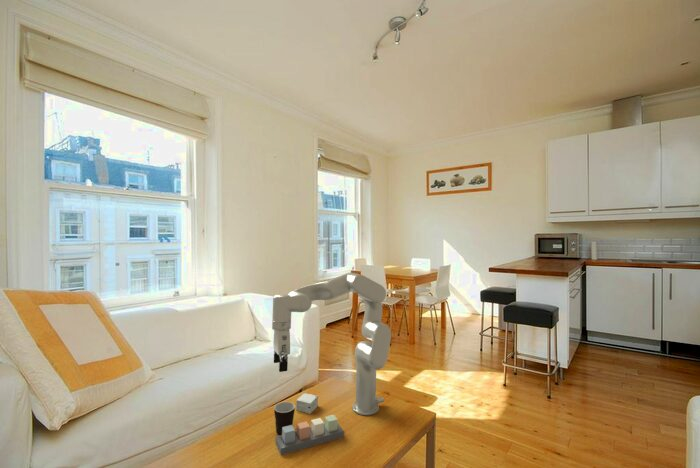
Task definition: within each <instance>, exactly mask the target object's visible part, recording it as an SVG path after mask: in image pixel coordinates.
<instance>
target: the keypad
mask: <svg viewBox="0 0 700 468" xmlns="http://www.w3.org/2000/svg"><path fill="white" fill-rule="evenodd" d="M343 429H344V428H342V427H341V426H340V424H339V423H338V425H337V430H336V431H332V432H329V433H328V432H327V430H326V429H325V423H324V434H321V435H318V436H314V435H313V434H312V432H311V427H310V438H307V439H303V440H299V438H298V436H297V430H295V442H292V443H289V444H284V442H283V440H282V435H277V436H275V446H276V447H277V450H278V452H279V455H280V456H284V455H287V454H290V453H294V452H297V451H301V450H304V449H307V448H311V447H314V446H318V445H319V446H320V445H321V444H324V443H328V442H332V441H335V440H339V439H342V438H344V437H345V430H343Z"/></svg>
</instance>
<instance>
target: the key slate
mask: <svg viewBox="0 0 700 468" xmlns="http://www.w3.org/2000/svg"><path fill="white" fill-rule="evenodd" d="M293 425H294V424H293ZM293 425H289V426H285V427H282V440H283V442H284V445H285V444H289V443H292V442H295V431H296V430H295V428H294V426H293Z"/></svg>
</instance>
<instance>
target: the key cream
mask: <svg viewBox="0 0 700 468" xmlns="http://www.w3.org/2000/svg"><path fill="white" fill-rule="evenodd" d="M310 421H311V422H310V428H311V432H312V434H313V436H318V435H321V434H324V424H325V421H323V419H322V418H321V417H318V418H313V419H311V420H310Z"/></svg>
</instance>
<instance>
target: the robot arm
mask: <svg viewBox="0 0 700 468" xmlns="http://www.w3.org/2000/svg"><path fill="white" fill-rule="evenodd" d="M349 293H355V294H358V296H359V297H360V298H361V300H362V302H363V304H364V315H363V320H362V325H361V334H362V336H363V337H364V338H365V339H367V340H362V341H359V342H358V343H357V344H356V346H355V349H354V357H355V368H356V370H355V371H356V372H355V373H356V374H355V376H356V377H355V378H356V379H355V401H354V402H353V403H352V407H351V408H352V410H353V412H354V413H356V414H357V415H361V416H373V415H375V414H377V413H378V412H379V409H380V407H379V404H380V403H385V398H384V397H380V396H376V395H377V393H376V392H377V391H376V390H377V370H381V369H382V368H383V367H385V365H386V364H387V362H388V356H389V352H390V345H391V339H392V332H391V328H390V327H389V325H387V324H385V323H384V322H382V317H383V303H382V302H384V301H385V300H386V297H387V290H386V289H385V287H384V286H383V285H381V284H379V282H376V281H374V280H372V279H370V278H369V277H366V276H365V275H363V274H361V273H360V274H359V273H354V272H346V273H344V274H342V275H338V276H335V277H333V278H331V279H328V280H325V281H321V282H318V283H312V284H307V285H305V286H302V287H299V288H296V289H293V290H292V291H290V292H289V293H278V294H274V296H273V297H272V320H271V321H272V323H271V326H272V327H271V329H272V331H273V349H274V350H273V363H274V364H279V365H278V371H279V373H280V372H281V373H284V372H287V371H288V365H289V364H288V362H289V360H288V355H290V354H291V332H290V330H291V328H292V313H305V312H308V311H309V310H310V309H311V307H312V304H313V303H312V302H313V301H317V300H318V301H329V300H334V299H336V298H339V297H342V296H344V295H346V294H349ZM369 340H370V341H371V342H370V341H369Z"/></svg>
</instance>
